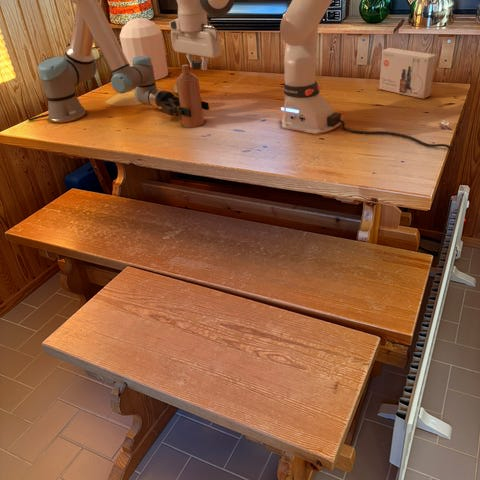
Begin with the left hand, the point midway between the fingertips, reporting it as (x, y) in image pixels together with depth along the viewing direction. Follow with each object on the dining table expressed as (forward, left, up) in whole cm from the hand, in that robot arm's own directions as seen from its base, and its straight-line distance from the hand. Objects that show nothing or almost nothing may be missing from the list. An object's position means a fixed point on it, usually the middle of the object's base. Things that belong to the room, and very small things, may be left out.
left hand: (199, 109), depth 174 cm
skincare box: (+71, +45, -6) cm, 84 cm away
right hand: (+7, -11, +18) cm, 23 cm away
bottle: (-4, +2, -6) cm, 8 cm away
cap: (+7, -11, +20) cm, 24 cm away
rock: (-24, +38, -6) cm, 46 cm away
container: (-58, +63, -6) cm, 86 cm away
